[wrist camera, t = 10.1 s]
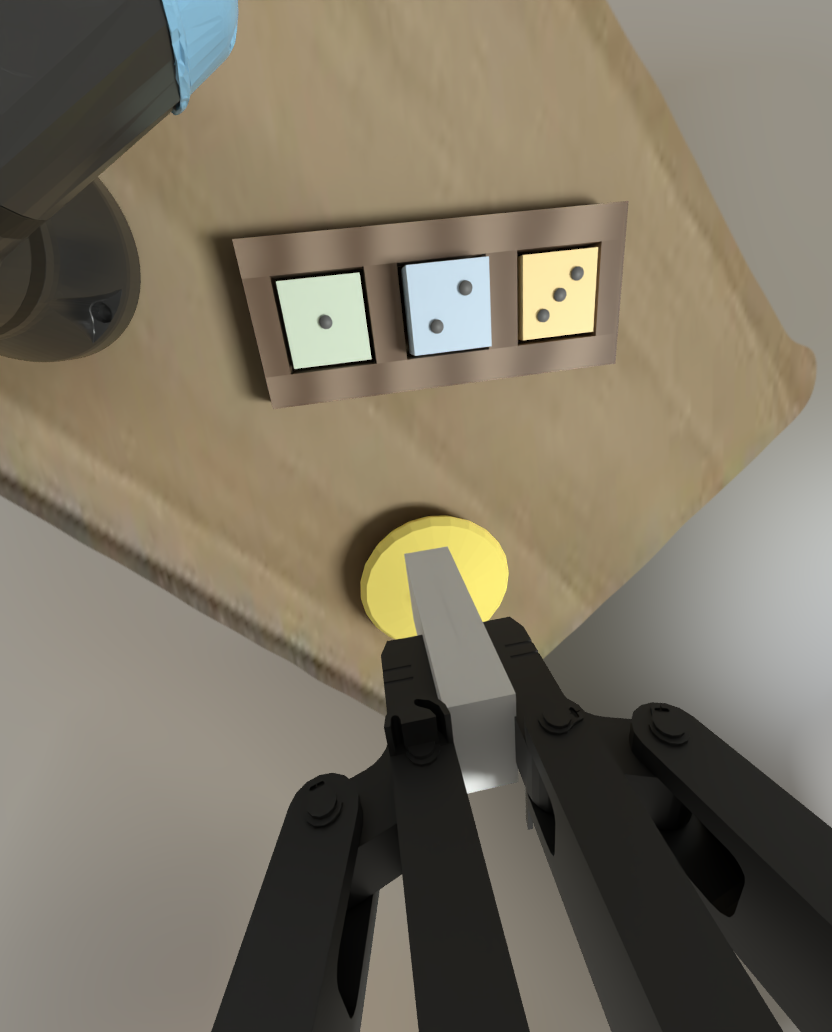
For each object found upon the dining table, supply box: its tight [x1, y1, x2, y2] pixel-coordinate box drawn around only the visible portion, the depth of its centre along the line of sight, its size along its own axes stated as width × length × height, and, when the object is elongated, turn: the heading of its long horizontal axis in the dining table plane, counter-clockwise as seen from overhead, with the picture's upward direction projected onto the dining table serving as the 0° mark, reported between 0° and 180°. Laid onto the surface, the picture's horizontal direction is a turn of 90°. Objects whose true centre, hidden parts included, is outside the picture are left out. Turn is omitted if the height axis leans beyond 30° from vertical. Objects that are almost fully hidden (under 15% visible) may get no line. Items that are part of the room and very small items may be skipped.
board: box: [232, 201, 628, 409], centre depth 36 cm, size 30×12×3 cm, turn 96°
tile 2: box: [401, 256, 492, 356], centre depth 34 cm, size 6×6×3 cm
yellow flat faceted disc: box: [360, 516, 509, 640], centre depth 45 cm, size 16×16×7 cm
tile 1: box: [276, 273, 372, 369], centre depth 35 cm, size 6×6×3 cm
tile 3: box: [517, 247, 598, 340], centre depth 37 cm, size 6×6×3 cm
